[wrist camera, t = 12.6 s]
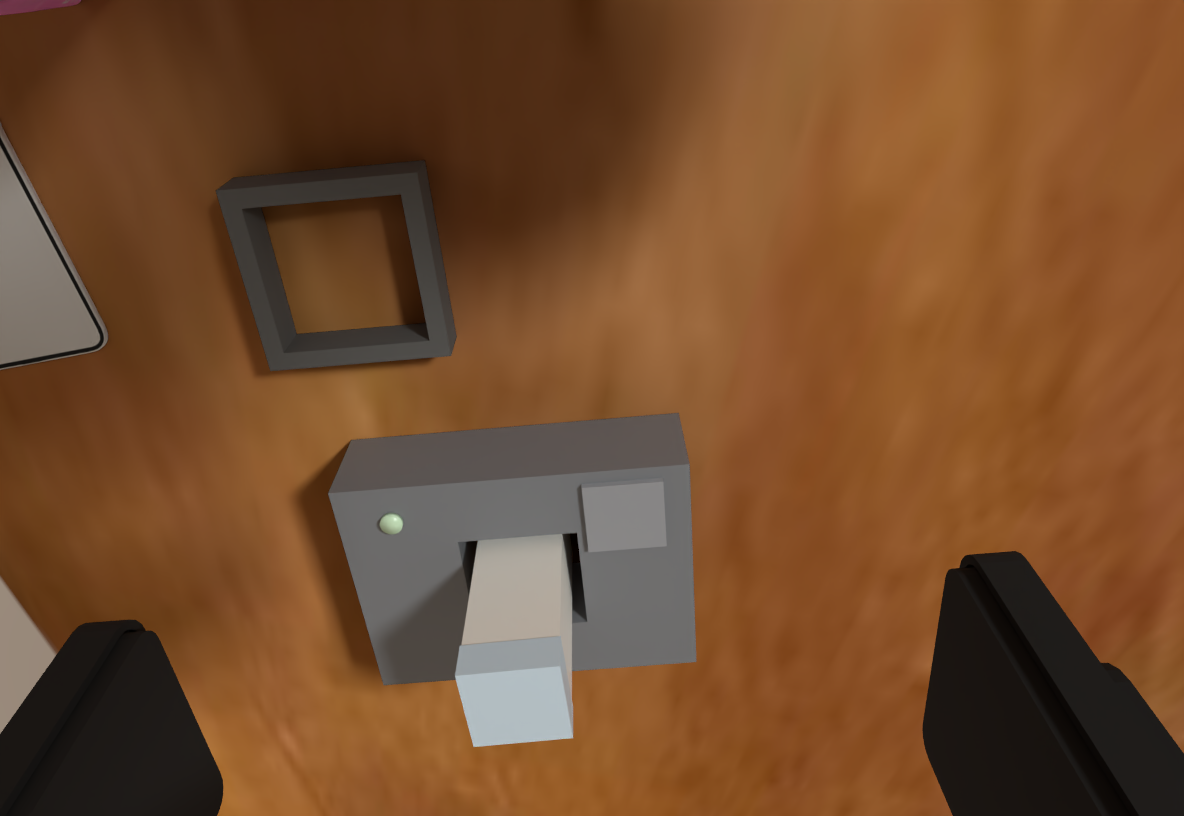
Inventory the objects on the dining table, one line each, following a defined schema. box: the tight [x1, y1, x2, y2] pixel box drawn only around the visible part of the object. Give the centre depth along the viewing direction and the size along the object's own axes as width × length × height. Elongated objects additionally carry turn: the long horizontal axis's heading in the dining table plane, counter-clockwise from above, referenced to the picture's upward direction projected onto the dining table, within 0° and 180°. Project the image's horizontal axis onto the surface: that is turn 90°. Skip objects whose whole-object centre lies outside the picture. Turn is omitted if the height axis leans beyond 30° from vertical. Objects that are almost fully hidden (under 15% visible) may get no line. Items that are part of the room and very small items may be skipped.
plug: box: [455, 533, 573, 747], centre depth 39 cm, size 4×4×12 cm
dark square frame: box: [216, 160, 456, 371], centre depth 36 cm, size 8×8×2 cm
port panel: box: [328, 413, 696, 685], centre depth 42 cm, size 16×12×5 cm
